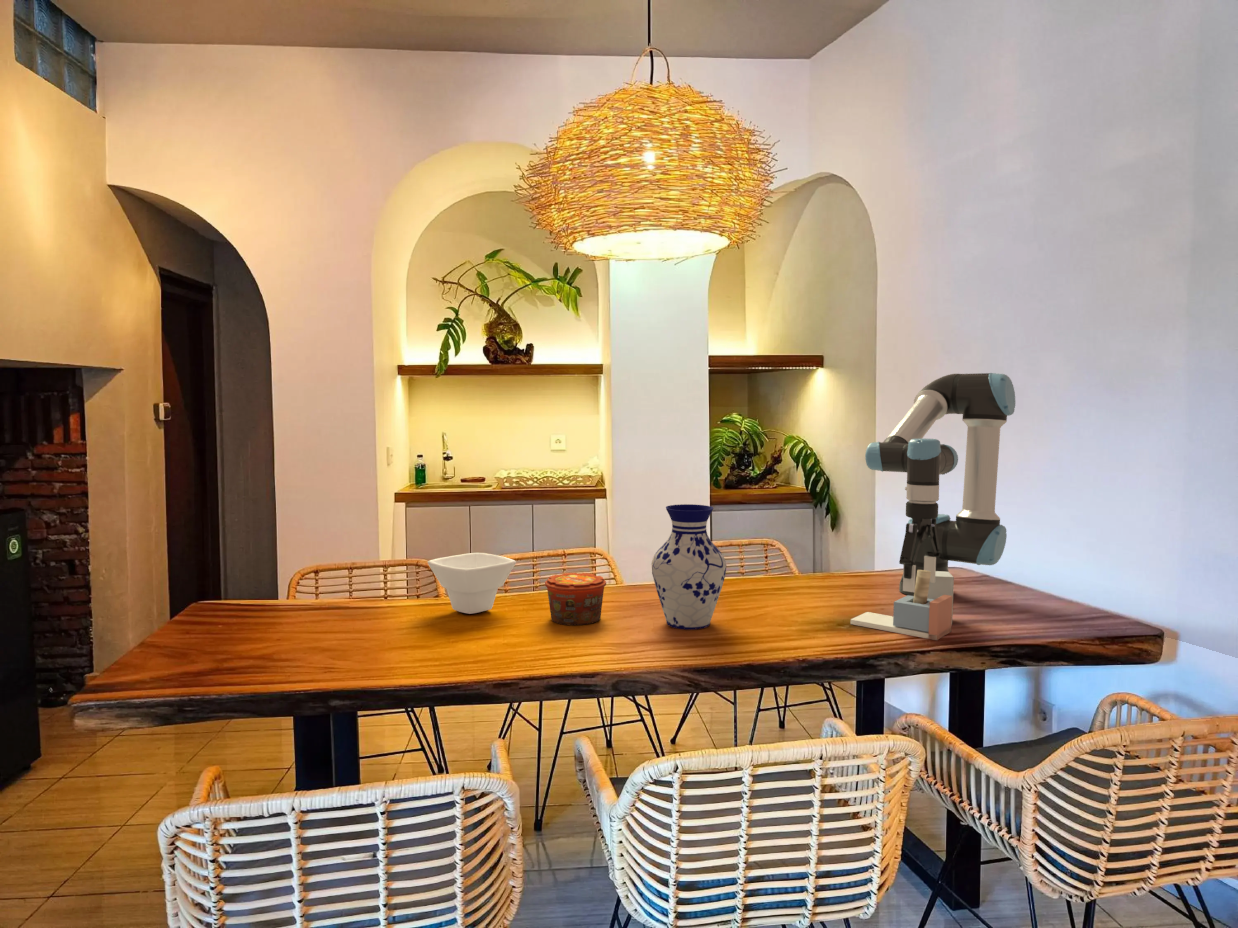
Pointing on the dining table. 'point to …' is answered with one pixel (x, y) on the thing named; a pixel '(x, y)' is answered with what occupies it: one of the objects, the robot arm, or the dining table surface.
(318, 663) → the dining table surface
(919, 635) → the peg insertion fixture
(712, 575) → the vase
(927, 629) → the socket block
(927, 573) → the dowel
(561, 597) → the food container
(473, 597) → the bowl
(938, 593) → the supplement box
